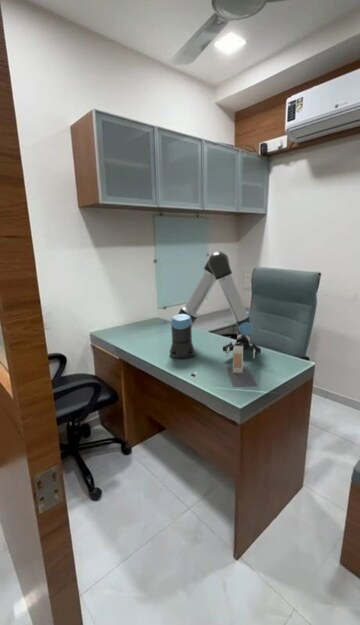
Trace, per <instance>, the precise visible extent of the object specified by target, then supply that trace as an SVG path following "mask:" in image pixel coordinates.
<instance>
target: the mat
mask: <svg viewBox="0 0 360 625" xmlns="http://www.w3.org/2000/svg"><path fill="white" fill-rule="evenodd" d="M225 368H226V372H227V374H228V377H229V379H230V382H231V385H232V387H233V388H243V387H258V383H257V382H256V380H255V378H254V376H253V375H252V373H251V371H250V369H249V367H248V366H243V371H242V373H234V372H233V366H232V367H225Z"/></svg>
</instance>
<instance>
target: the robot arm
mask: <svg viewBox="0 0 360 625" xmlns="http://www.w3.org/2000/svg"><path fill="white" fill-rule="evenodd" d="M232 274H233V272H232V269H231V266H230V260H229V257H228V255H227V254H226V253H224V252H222V251H215V252H213V253H211V254H210V256H209V258H208V260H207V262H206V263H205V266H204V267H203V274H202V276H201V278H200V280H199V281H198V283H197V284H196V286H195V288H194V290H193V292H191V295H190V297H189V299H188V301H187V303H186V304H185V306H181V308H180V310H179V312H178V314H175V315H173V316H172V317H171V319H170V320H171V321H170V325H171V345H170V349H169V356H170V357H171V358H173V359H178V360H185V359H186V360H187V359H191V358H193V357H195V356H196V350H195V346H194V344H193V338H192V337H193V336H192V335H193V334H192V333H193V332H192V330H193V329H192V328H193V327H194V325H195V323H196V321H197V319H198V317H199V314H198V312H199V311H200V309H201V307H202V306H203V304H204V303H205V300H206V299H207V297H208V296H209V293H210V292H211V290H212V289H213V286H214V285H215V283H216V282H218V283H219V286H220V288H221V290H222V293H223V295H224V297H225V300H226V302H227V304H228V307H229V308H230V311H231V314H232V316H233V318H234V320H235V323H236V326H237V335H236V336H237V337H236V342H235V343H233V342H232V341H230V342H229V343H228V344H225V345H223V346H222V351H223V352H224V353H225V354H226V357H229V355H230V352H233V348H234V346H243V351H246V352H247V351H249V352H252V353H253V354H252V356H253V357H252V358H253V359H255V357H256V356H257V355H258V354H261V352H262V349H261V348H260V347H259V346H258V345H256V344H255V342H253V343H252V344H250V342H251V341H250V340H251V334H252V332H253V329H254V327H253V323H252V322H251V313H250V312H249V311H247V310H246V308H245V306H244V303H243V300H242V298H241V296H240V294H239V291H238V288H237V286H236V284H235V281H234V279H233V276H232Z"/></svg>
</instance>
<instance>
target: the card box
mask: <svg viewBox="0 0 360 625" xmlns="http://www.w3.org/2000/svg"><path fill="white" fill-rule="evenodd" d="M232 367H233V372H234V373H242V371H243V367H244V350H243V346H234V348H233V350H232Z"/></svg>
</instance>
